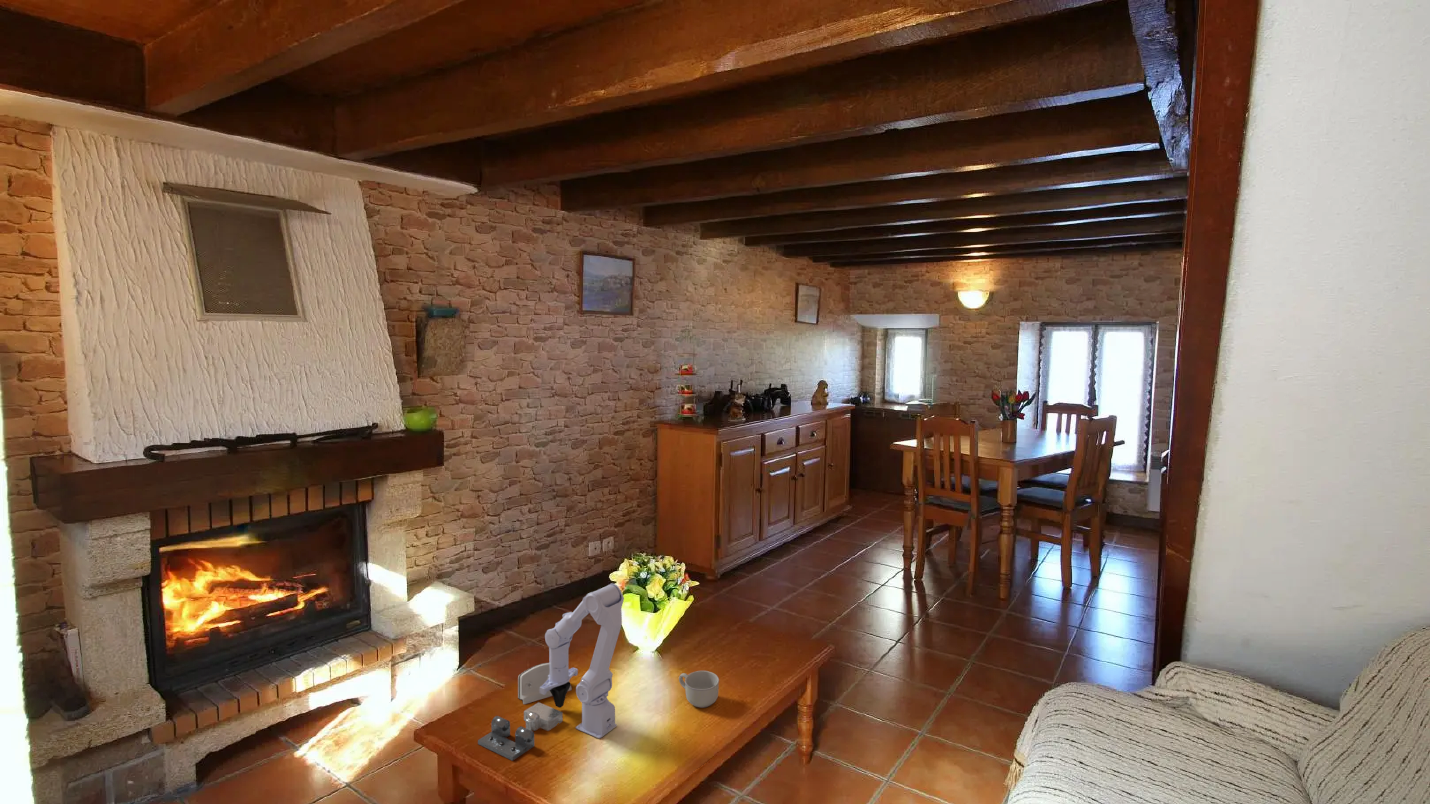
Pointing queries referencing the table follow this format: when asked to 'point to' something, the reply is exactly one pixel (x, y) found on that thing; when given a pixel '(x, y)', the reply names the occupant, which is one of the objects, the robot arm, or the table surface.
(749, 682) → the table surface
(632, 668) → the table surface
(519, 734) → the fixed leaf
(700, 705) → the teacup
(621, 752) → the table surface
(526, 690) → the grey rounded slab
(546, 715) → the grey boxy piece
